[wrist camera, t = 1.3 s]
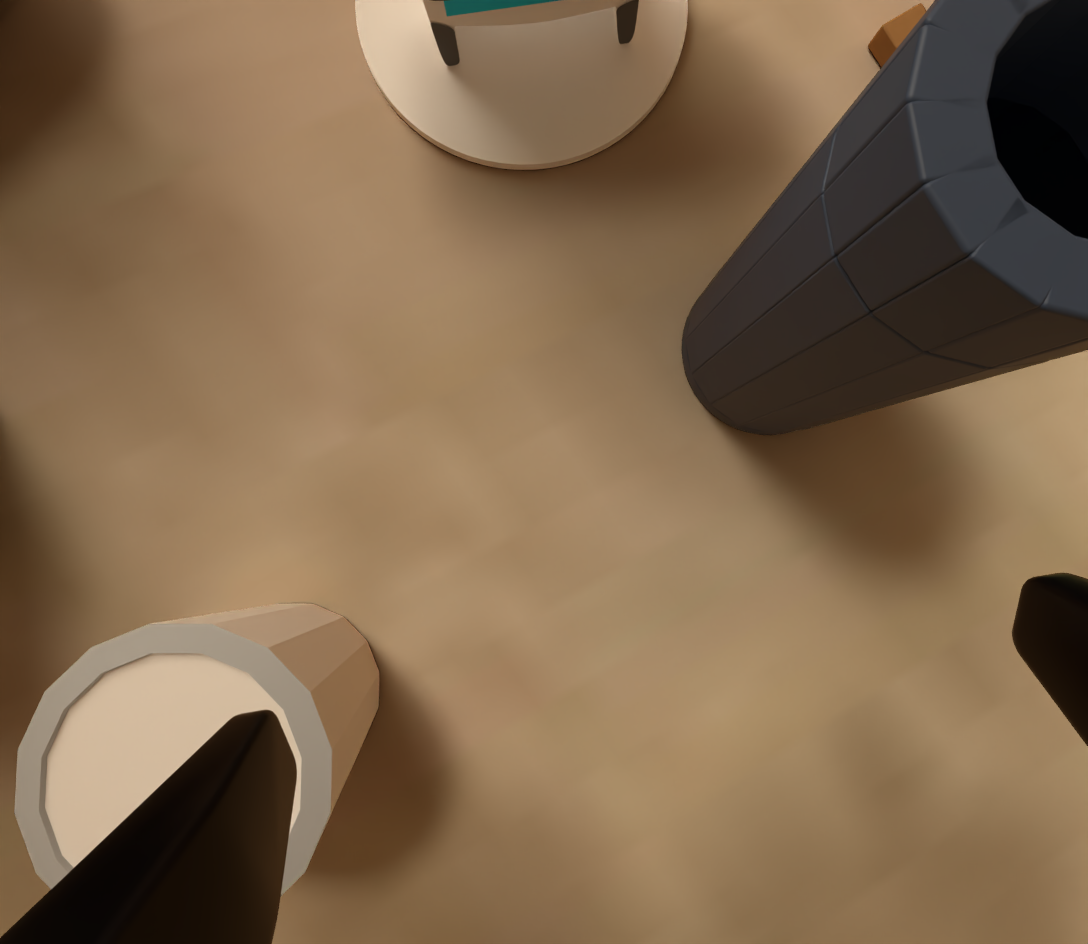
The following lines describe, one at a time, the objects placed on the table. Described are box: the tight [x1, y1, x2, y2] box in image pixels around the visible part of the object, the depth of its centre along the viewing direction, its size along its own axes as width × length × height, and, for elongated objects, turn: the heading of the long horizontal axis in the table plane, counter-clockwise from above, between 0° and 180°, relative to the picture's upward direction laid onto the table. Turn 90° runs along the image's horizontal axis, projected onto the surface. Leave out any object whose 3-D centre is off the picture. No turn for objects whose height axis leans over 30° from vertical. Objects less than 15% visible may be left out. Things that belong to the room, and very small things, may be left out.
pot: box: [682, 0, 1088, 435], centre depth 15 cm, size 6×6×13 cm
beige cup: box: [14, 603, 379, 896], centre depth 17 cm, size 7×7×7 cm
